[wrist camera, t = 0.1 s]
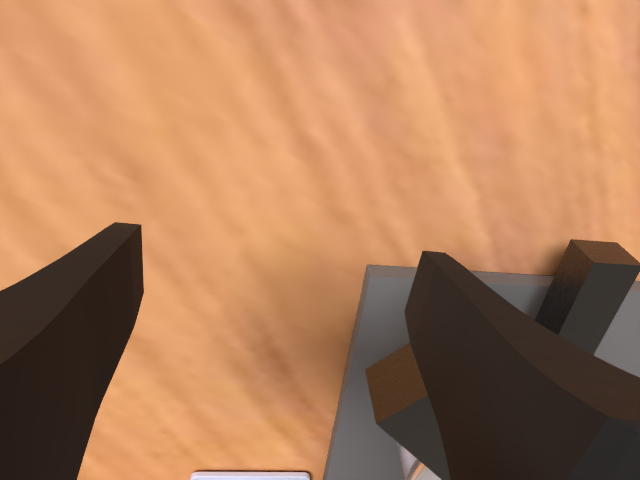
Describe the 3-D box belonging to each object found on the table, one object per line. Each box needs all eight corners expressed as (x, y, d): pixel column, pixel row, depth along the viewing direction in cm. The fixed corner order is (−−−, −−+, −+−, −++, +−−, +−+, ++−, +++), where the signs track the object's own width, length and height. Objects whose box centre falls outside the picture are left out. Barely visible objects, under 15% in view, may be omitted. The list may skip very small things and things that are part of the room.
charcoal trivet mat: (561, 478, 36) (568, 491, 36) (323, 477, 34) (324, 491, 33) (682, 283, 27) (695, 294, 26) (367, 264, 25) (370, 276, 24)
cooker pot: (544, 465, 34) (579, 533, 30) (375, 464, 32) (388, 535, 28) (682, 226, 24) (759, 280, 20) (449, 208, 22) (484, 263, 19)
